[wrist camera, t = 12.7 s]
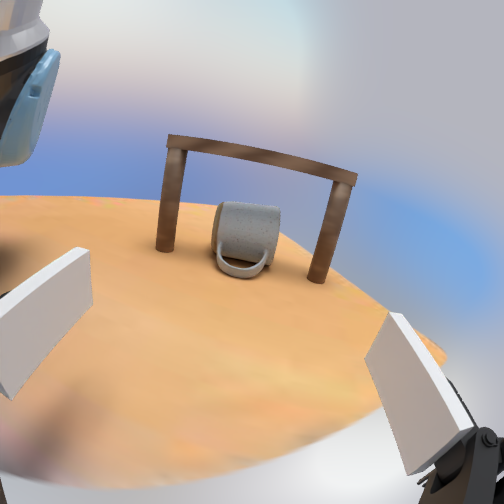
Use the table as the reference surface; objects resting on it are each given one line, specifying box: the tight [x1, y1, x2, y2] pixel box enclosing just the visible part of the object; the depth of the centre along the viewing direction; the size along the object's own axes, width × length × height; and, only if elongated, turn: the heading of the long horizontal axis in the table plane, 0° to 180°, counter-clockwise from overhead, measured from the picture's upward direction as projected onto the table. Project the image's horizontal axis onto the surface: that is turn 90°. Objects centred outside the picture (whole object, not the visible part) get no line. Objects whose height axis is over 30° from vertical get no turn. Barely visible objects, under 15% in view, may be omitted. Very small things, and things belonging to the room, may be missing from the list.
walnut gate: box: [156, 134, 358, 284], centre depth 32 cm, size 22×2×14 cm, turn 88°
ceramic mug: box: [211, 202, 280, 278], centre depth 34 cm, size 11×8×8 cm
